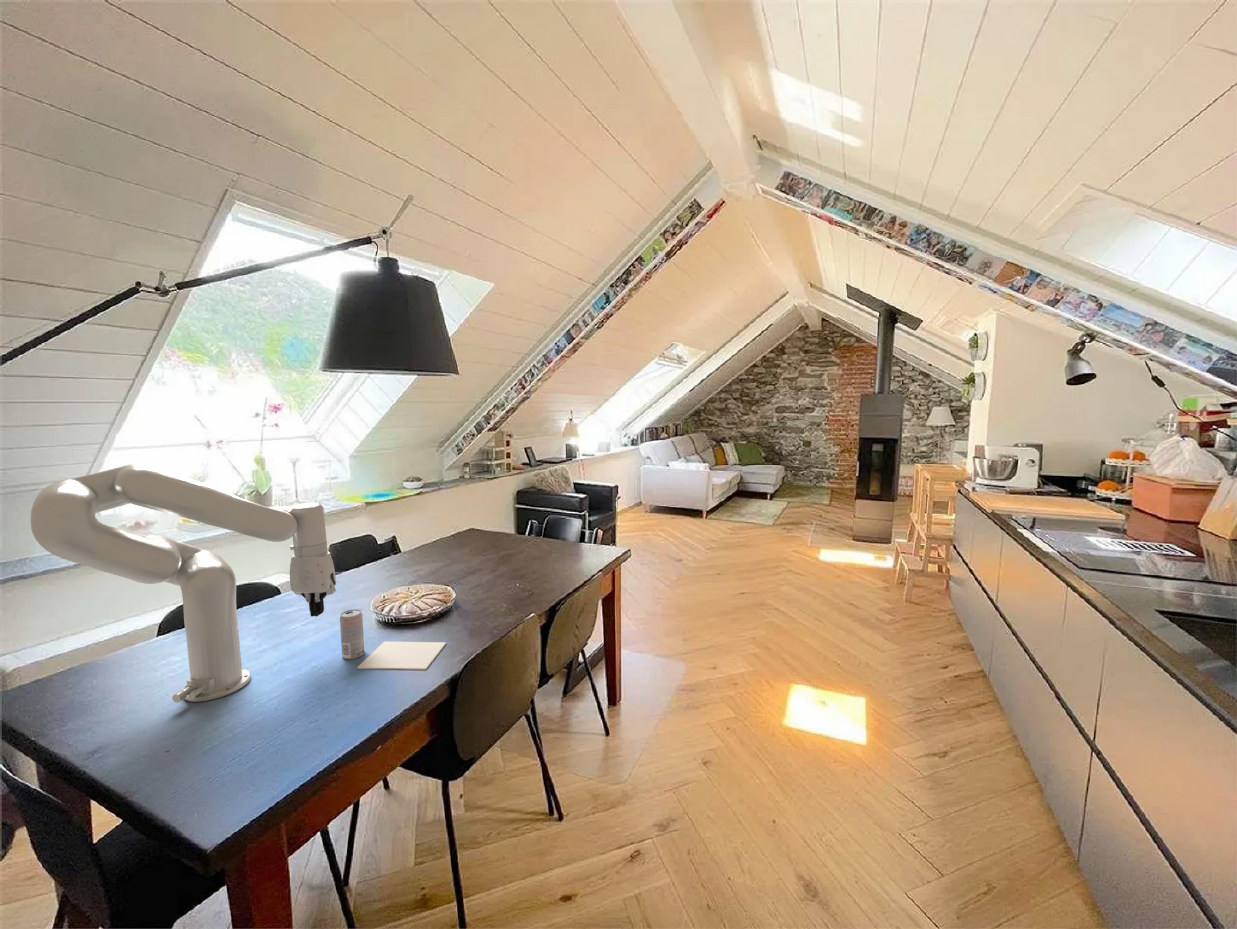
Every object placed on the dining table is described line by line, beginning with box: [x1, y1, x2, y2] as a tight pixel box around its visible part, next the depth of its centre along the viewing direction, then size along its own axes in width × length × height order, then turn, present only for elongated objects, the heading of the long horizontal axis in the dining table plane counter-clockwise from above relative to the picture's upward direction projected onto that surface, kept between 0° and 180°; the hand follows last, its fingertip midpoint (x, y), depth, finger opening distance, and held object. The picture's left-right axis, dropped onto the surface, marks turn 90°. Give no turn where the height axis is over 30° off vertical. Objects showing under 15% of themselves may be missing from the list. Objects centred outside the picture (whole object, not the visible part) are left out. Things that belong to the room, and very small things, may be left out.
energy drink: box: [339, 608, 365, 660], centre depth 131 cm, size 5×5×12 cm
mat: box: [356, 640, 447, 671], centre depth 132 cm, size 14×18×1 cm
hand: (317, 614), depth 131 cm, fingers closed
